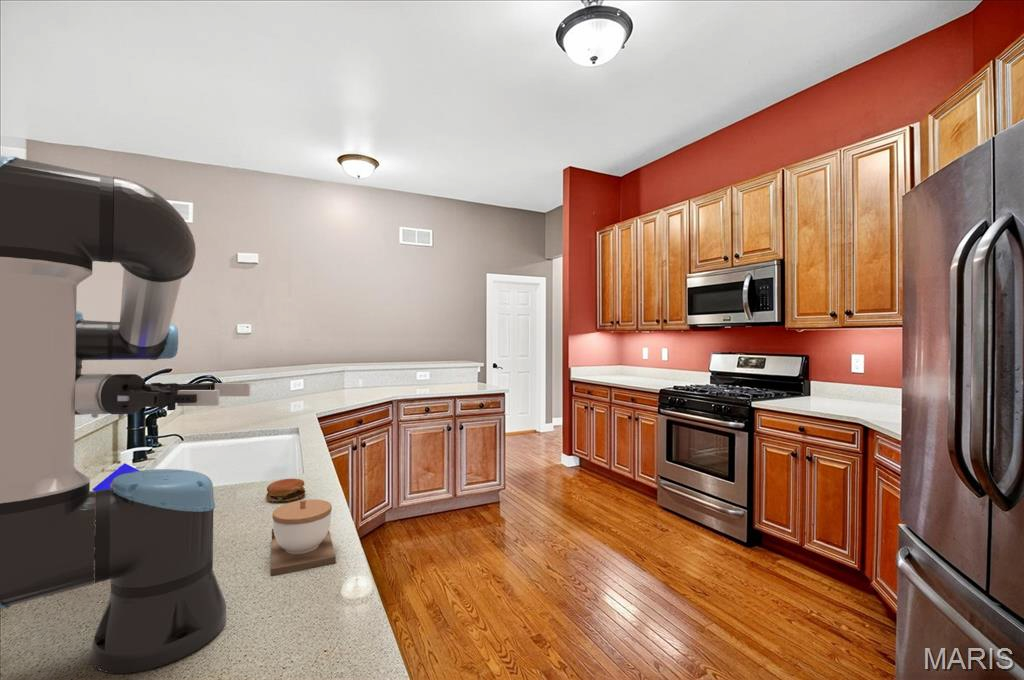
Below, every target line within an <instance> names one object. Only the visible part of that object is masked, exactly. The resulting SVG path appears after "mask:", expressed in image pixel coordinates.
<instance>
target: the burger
mask: <svg viewBox="0 0 1024 680" xmlns="http://www.w3.org/2000/svg"><path fill="white" fill-rule="evenodd" d="M304 485H305V481H304V480H303V479H299V478H284V479H279V480H276V481H273V482H271V483H270V484H268V486H267V487H266V491H267V493H266V495H265V500H266V501H267V500H268V501H267V502H269V501H272V502H271V503H280V502H279V501H287V502H292V501H296V500H298V499H301V498H302V497H304V496H306V494H305V493H306V488H305V487H304ZM303 495H304V496H303ZM291 500H292V501H291ZM274 501H275V502H274Z"/></svg>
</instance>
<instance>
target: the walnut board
mask: <svg viewBox="0 0 1024 680" xmlns="http://www.w3.org/2000/svg"><path fill="white" fill-rule="evenodd" d="M332 541H333V540H332V536H331V534H330V530H329V531H328V533H327V535H326V537H325V538H324V540H323V541H322V542H321V543H320V544H319V546H318V547H317V548H316V549H315V550H313V551H311V552H308V553H304V554H289V553H287V552H286V551H285V549H283V548H282V547H281V546H280V545H279V544H278V543H277V541H276V539H275V536H274V530H273V528H271V545H270V546H271V548H270V550H271V551H270V552H271V553H270V576H271V577H273V576H277V575H282V574H286V573H291V572H296V571H302V570H307V569H312V568H316V567H317V566H318V567H321V566H322V565H323V566H326V565H325V564H328V565H331V564H330V563H333V564H335V563H334V562H336V558H337V557H336V553H335V548H334V544H333V542H332ZM336 563H337V562H336Z"/></svg>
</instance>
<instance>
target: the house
mask: <svg viewBox="0 0 1024 680" xmlns="http://www.w3.org/2000/svg"><path fill="white" fill-rule="evenodd" d="M136 471H141V470H139V469H138V468H135V467H133V466H131V465H129V464H127V463H125V462H124V463H123V464H122V465H120V466H119V467H118V468H116V469H115V470H114V471H113V472H112V473H111V474H109V475H108V476H107V477H105V478H104V479H103V480H102V481H101V482H99V483H98V484H97V485H96V486H94V487H93V488H92V491H100V490H106V489H110V484H111V483H112V481H113V479H114V478H116V477H117V476H119V475H122V474H125V473H133V472H136ZM95 495H96V492H95ZM95 516H96V498H95Z"/></svg>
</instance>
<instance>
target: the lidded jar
mask: <svg viewBox="0 0 1024 680" xmlns="http://www.w3.org/2000/svg"><path fill="white" fill-rule="evenodd" d="M332 510H333V509H332V504H331V503H330V502H329V501H327V500H324V499H323V500H322V499H315V498H314V499H304V498H303V499H300V500H294V501H290V502H288V503H287V502H286V503H285V504H282V505H279V506H277V507H276V508H275V509H274V511H273V512H272V521H273V522H272V526H273V527H272V529H273V530H274V536H275V539H276V541H277V543H278V544H279V545H280V546H281V547H282V548H283V549H285V551H286V552H287V553H289V554H304V553H308V552H311V551H313V550H315V549H316V548H317V547H318V546H319V544H320V543H321V542H322V541H323V540H324V538H325V537H326V535H327V533H328V531H329V532H330V527H331V519H332Z"/></svg>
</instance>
